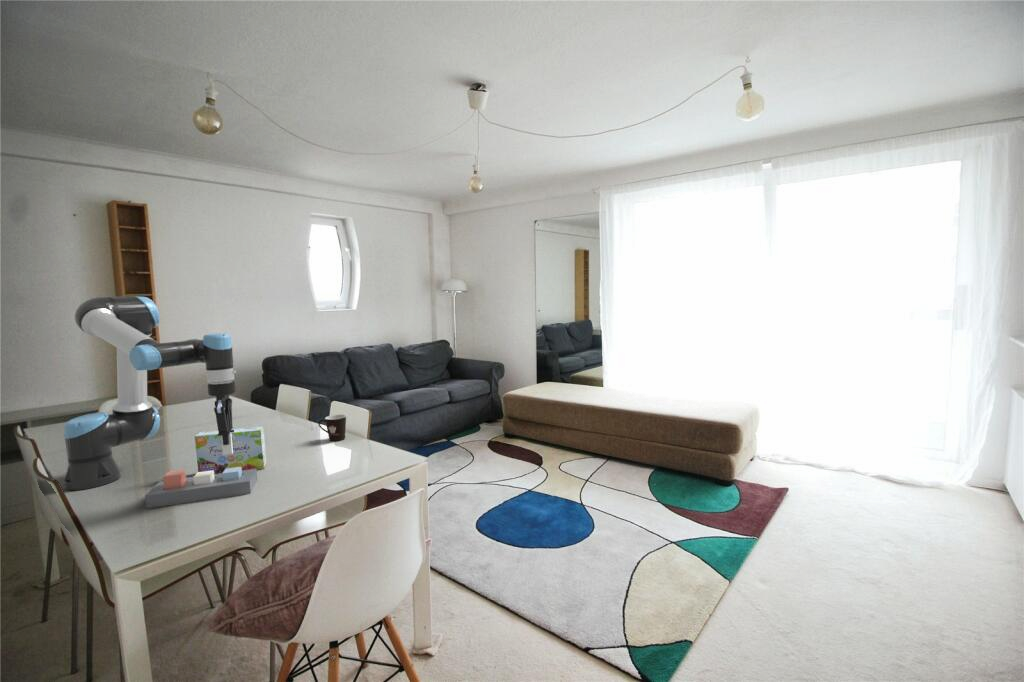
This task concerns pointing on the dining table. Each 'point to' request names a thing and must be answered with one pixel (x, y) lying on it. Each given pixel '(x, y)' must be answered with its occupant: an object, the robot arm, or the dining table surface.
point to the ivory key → (204, 477)
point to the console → (201, 490)
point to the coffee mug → (335, 427)
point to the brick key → (174, 479)
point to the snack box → (244, 453)
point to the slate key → (232, 474)
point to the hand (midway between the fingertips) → (228, 453)
